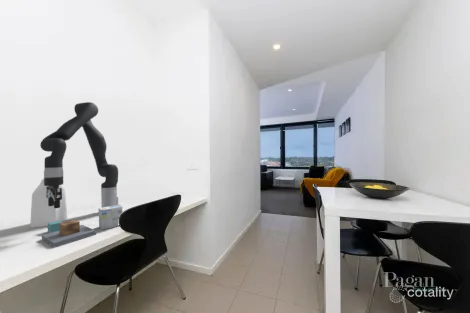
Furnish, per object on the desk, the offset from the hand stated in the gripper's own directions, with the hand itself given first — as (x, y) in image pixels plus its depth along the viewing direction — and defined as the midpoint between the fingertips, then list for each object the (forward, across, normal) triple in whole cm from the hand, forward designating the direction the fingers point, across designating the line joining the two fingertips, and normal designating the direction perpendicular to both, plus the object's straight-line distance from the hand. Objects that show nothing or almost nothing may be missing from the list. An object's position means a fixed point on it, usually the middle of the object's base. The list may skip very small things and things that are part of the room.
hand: (54, 206), depth 103 cm
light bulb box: (+13, -18, -19) cm, 29 cm away
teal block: (+13, 0, 0) cm, 13 cm away
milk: (+13, +19, -3) cm, 23 cm away
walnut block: (+11, -16, -1) cm, 19 cm away
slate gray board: (+13, -16, -1) cm, 21 cm away
